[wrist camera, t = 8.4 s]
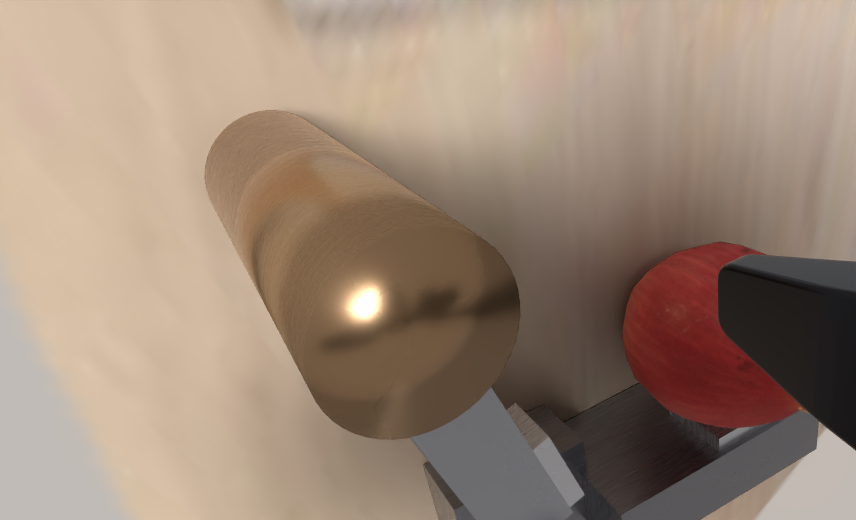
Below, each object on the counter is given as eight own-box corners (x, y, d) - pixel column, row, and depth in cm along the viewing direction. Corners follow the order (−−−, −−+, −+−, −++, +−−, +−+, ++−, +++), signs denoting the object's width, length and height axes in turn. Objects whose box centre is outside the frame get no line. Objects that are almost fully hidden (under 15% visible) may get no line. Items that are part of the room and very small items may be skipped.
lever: (525, 433, 24) (726, 646, 16) (448, 496, 23) (620, 745, 16) (295, 78, 16) (472, 168, 9) (175, 161, 16) (251, 331, 8)
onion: (658, 181, 24) (883, 263, 17) (722, 274, 27) (934, 374, 20) (547, 307, 23) (729, 439, 17) (624, 385, 27) (804, 523, 20)
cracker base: (720, 315, 28) (860, 391, 22) (720, 409, 30) (848, 497, 25) (423, 464, 24) (512, 596, 19) (450, 559, 26) (536, 700, 21)
